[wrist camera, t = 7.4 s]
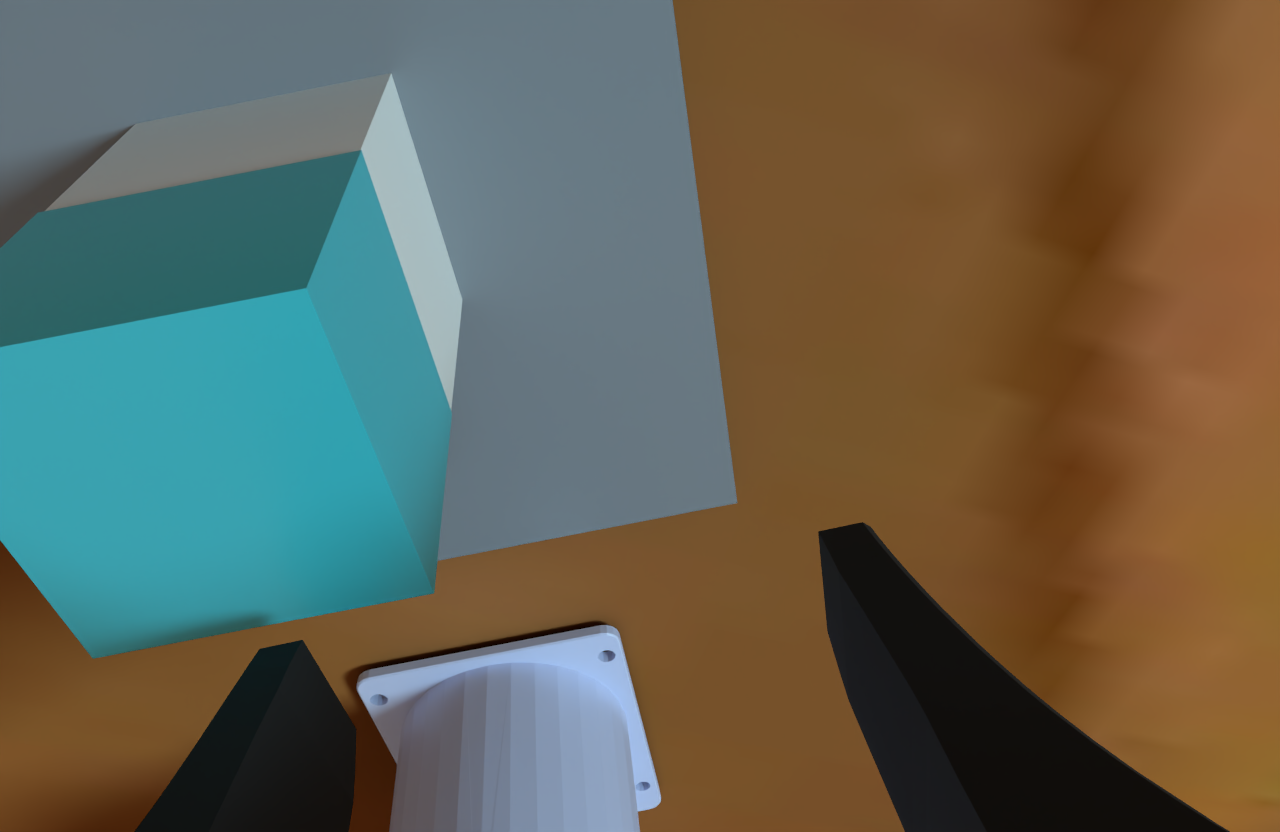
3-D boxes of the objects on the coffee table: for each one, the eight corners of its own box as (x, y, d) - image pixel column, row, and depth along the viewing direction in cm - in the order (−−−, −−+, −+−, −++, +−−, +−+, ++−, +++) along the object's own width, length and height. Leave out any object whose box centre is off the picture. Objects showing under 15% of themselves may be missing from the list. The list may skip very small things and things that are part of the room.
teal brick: (452, 413, 17) (433, 593, 13) (184, 465, 17) (92, 658, 13) (361, 149, 14) (305, 288, 10) (37, 212, 14) (-131, 372, 10)
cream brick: (462, 300, 21) (450, 416, 17) (242, 343, 21) (184, 468, 17) (390, 73, 18) (358, 154, 14) (135, 123, 18) (36, 219, 14)
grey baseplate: (733, 491, 25) (736, 502, 25) (162, 601, 25) (157, 614, 25) (644, -200, 16) (646, -199, 16) (-260, -23, 16) (-280, -17, 16)
